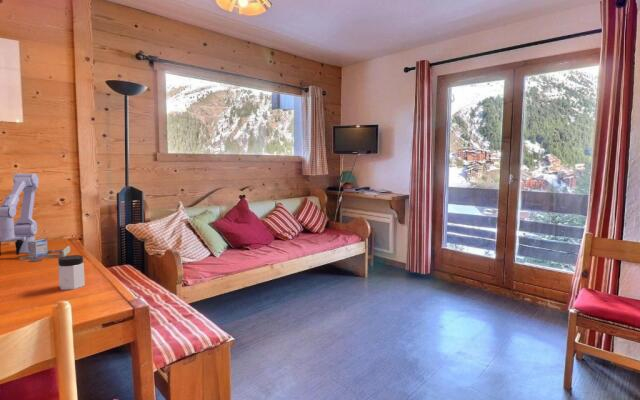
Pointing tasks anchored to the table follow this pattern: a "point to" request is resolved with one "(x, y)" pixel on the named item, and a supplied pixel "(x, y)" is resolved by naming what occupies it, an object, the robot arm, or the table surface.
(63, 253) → the channel
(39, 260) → the grey plate
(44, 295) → the table surface
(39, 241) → the medicine box
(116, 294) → the table surface
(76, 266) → the jar
